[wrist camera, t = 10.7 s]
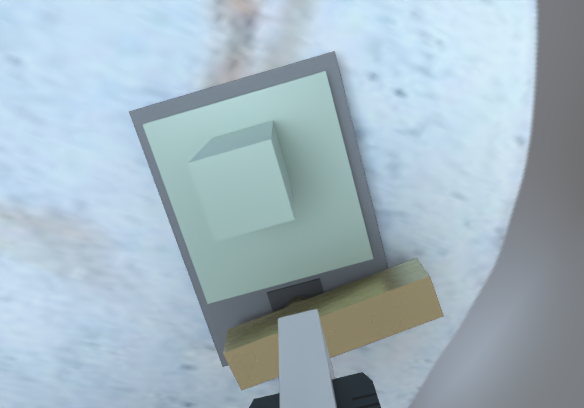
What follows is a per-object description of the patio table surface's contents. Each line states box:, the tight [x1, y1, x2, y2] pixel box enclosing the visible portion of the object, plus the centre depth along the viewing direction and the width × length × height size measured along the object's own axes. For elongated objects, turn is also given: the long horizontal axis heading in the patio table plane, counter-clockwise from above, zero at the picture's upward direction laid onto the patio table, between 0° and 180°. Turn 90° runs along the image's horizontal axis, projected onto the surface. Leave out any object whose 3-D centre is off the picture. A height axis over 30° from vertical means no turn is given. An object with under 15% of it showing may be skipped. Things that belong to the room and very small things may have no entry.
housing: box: [129, 51, 388, 367], centre depth 36 cm, size 14×20×3 cm
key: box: [223, 258, 444, 390], centre depth 33 cm, size 3×14×5 cm, turn 112°
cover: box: [143, 71, 373, 304], centre depth 29 cm, size 12×13×10 cm
